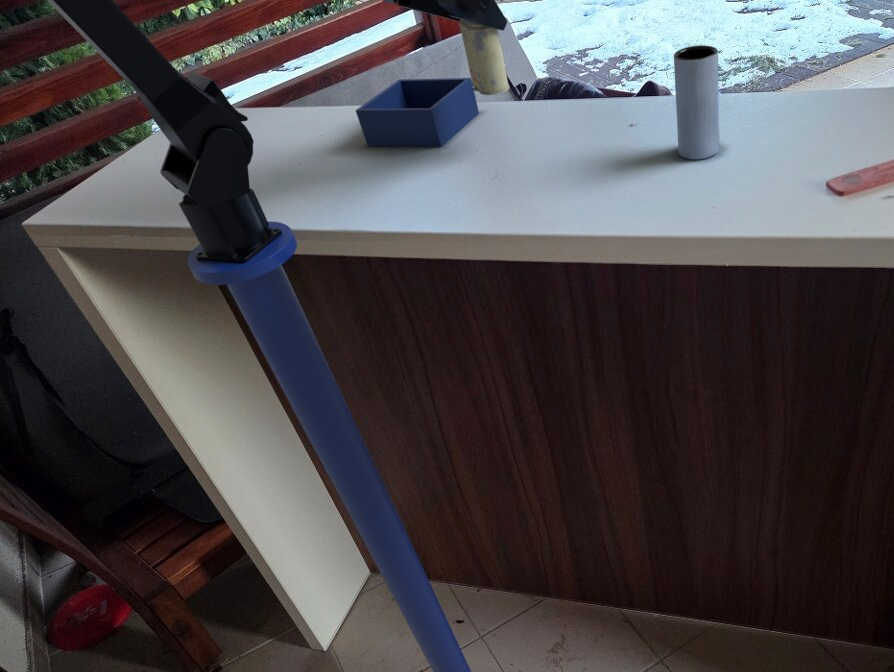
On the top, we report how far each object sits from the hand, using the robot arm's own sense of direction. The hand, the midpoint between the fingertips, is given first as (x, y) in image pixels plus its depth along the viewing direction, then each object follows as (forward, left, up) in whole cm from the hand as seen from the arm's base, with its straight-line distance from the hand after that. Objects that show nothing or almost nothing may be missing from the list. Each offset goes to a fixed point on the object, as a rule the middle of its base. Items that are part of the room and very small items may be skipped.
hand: (486, 22), depth 84 cm
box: (+3, +14, -13) cm, 20 cm away
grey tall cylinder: (-3, -25, -13) cm, 28 cm away
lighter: (-1, +1, -7) cm, 7 cm away
